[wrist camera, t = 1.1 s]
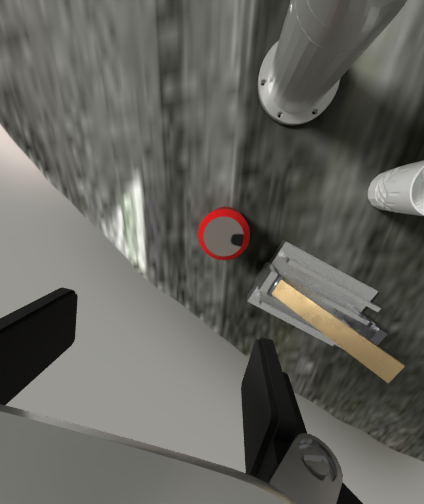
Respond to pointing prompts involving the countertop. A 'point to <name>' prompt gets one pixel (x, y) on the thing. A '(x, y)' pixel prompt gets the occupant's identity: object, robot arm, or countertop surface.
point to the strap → (337, 330)
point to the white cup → (399, 189)
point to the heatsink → (316, 292)
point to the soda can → (224, 233)
